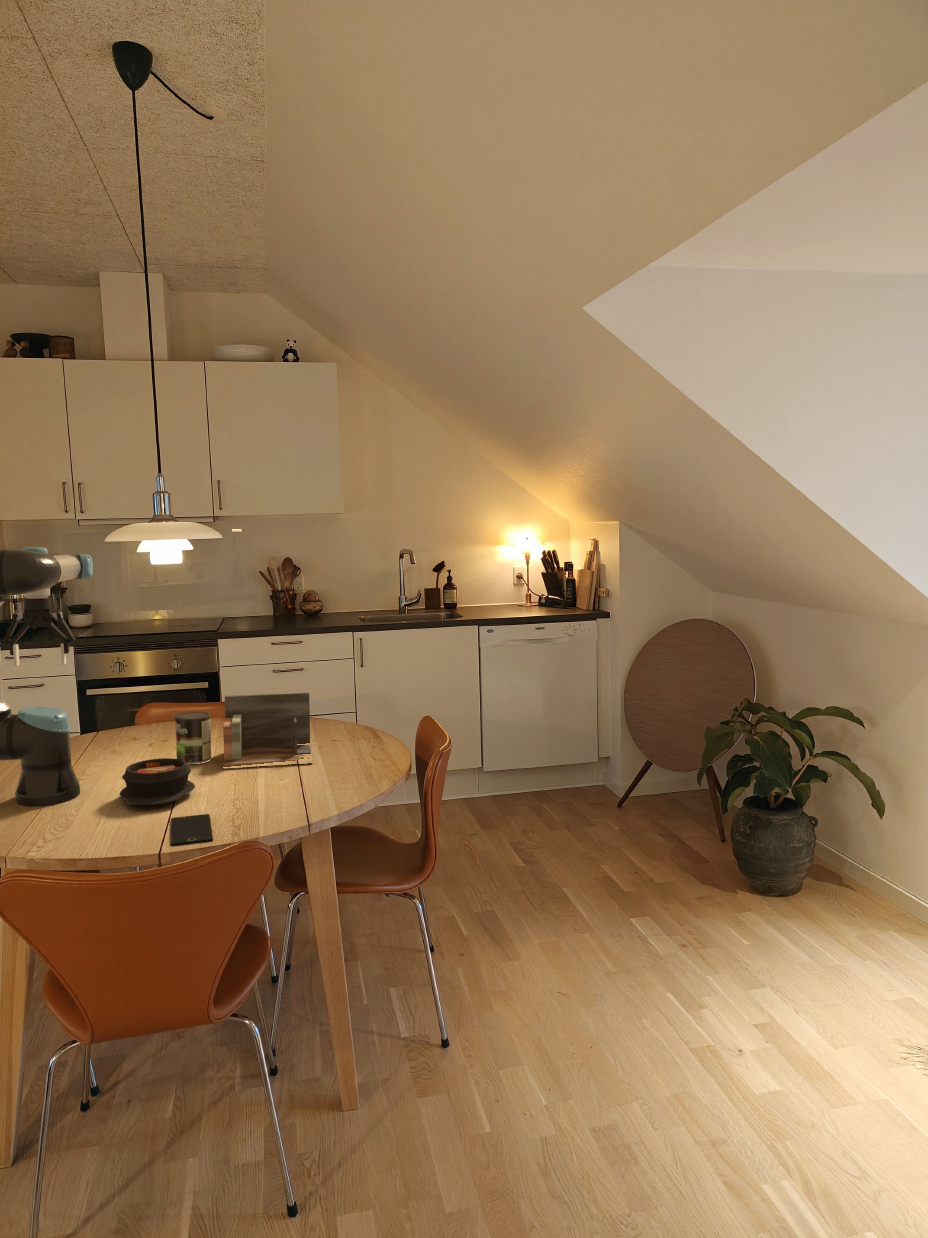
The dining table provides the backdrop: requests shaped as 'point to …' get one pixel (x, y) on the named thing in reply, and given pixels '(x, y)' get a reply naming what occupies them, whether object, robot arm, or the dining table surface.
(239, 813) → the dining table surface
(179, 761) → the casserole
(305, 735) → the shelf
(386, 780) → the dining table surface
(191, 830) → the cell phone
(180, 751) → the coffee can
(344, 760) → the dining table surface
